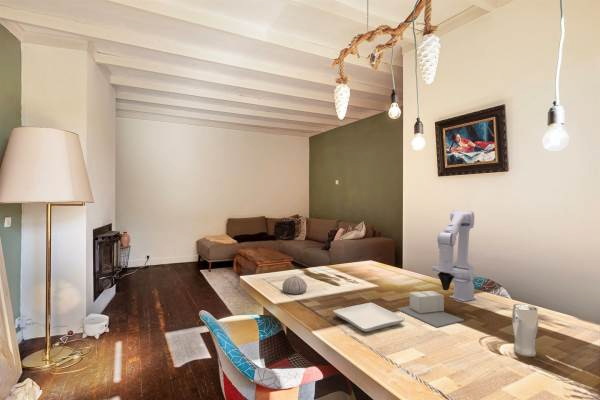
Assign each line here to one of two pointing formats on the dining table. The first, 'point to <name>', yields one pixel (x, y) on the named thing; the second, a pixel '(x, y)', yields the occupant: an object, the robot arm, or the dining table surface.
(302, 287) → the sea urchin shell
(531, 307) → the beer glass
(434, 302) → the supplement box
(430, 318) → the mat
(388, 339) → the dining table surface
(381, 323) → the salad plate
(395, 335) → the dining table surface
